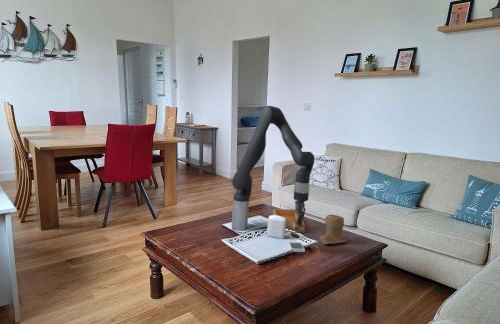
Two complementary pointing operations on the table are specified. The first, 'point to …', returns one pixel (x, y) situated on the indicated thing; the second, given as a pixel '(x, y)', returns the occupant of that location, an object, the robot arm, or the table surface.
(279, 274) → the table surface
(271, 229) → the photo printer
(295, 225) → the hand stamp
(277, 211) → the tray
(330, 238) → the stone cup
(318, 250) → the marked square
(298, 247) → the ink pad
